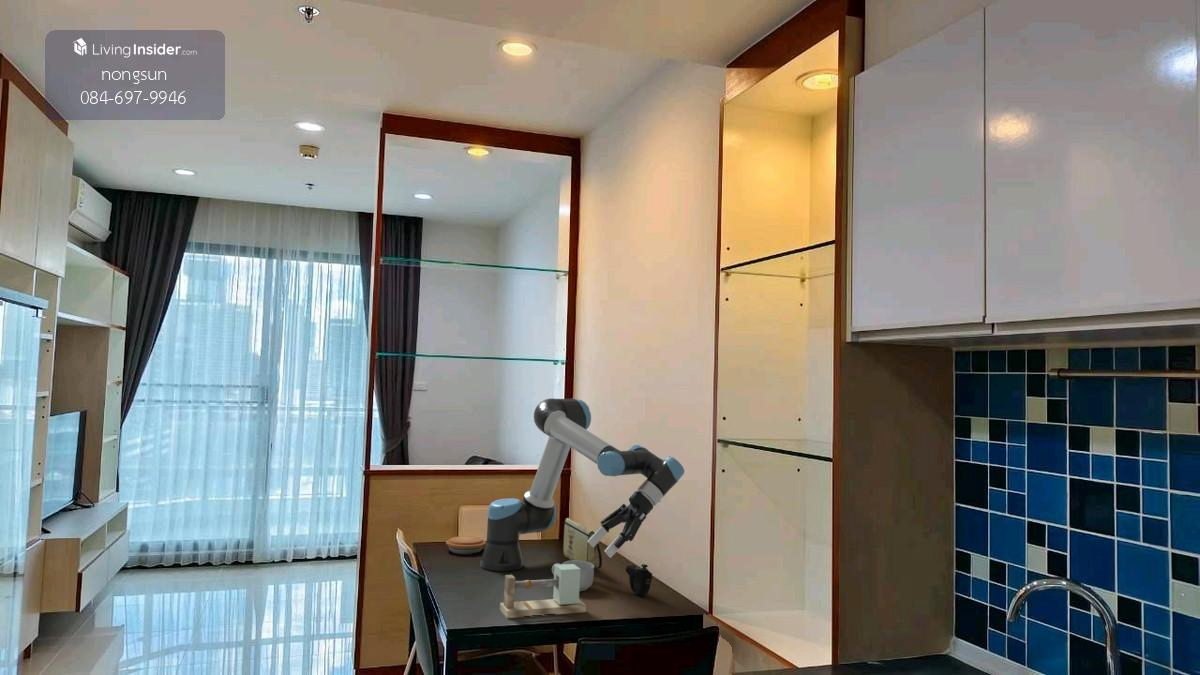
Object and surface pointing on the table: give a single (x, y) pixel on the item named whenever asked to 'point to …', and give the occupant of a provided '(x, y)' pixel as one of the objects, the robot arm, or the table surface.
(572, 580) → the sleeve
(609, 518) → the robot arm
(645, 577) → the controller
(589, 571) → the teacup
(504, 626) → the table surface
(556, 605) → the lead screw slider
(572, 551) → the clutch purse
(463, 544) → the pie
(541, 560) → the table surface
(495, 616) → the table surface
